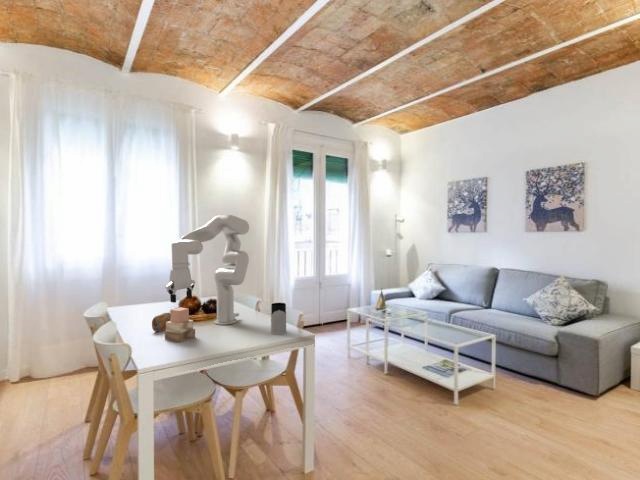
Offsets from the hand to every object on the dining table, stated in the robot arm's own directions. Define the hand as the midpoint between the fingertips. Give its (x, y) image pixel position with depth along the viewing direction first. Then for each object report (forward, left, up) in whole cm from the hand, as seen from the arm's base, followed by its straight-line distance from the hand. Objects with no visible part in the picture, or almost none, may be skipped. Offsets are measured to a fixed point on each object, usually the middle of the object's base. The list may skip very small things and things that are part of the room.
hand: (181, 300), depth 188 cm
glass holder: (-33, +35, -19) cm, 52 cm away
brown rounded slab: (-5, -22, -19) cm, 30 cm away
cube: (+1, 0, -10) cm, 10 cm away
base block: (+1, 0, -19) cm, 19 cm away
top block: (+1, 0, -15) cm, 15 cm away
